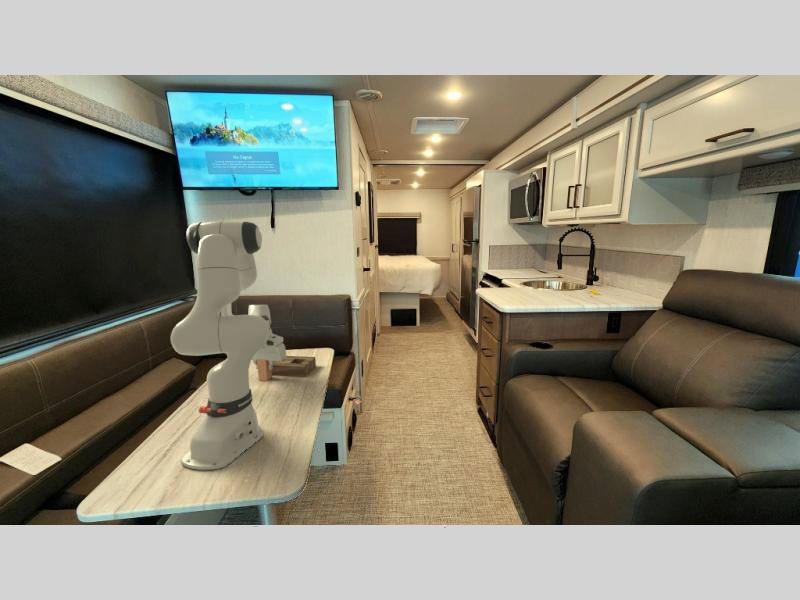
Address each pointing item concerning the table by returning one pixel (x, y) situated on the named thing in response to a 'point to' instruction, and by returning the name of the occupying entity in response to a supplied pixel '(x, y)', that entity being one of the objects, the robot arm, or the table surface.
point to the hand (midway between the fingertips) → (264, 369)
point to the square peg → (263, 370)
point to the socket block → (294, 366)
